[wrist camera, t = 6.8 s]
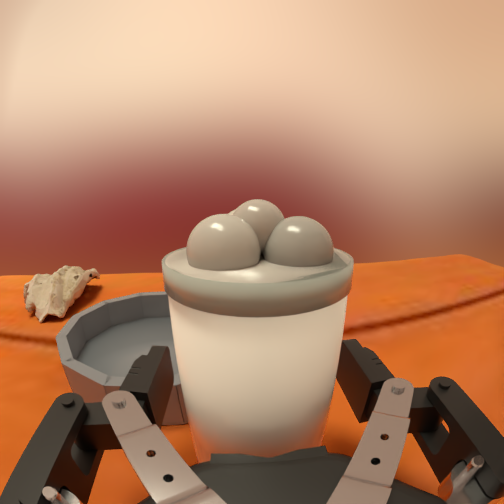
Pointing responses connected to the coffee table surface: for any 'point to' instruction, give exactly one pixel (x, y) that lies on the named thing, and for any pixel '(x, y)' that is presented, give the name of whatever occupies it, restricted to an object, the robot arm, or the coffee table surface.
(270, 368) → the pebble cup
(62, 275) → the coral
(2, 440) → the coffee table surface
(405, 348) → the coffee table surface
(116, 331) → the bowl
